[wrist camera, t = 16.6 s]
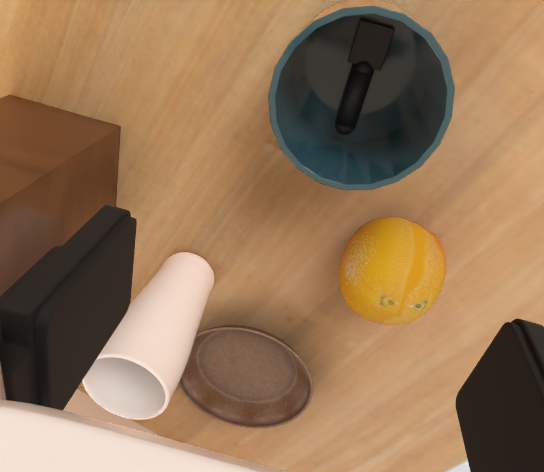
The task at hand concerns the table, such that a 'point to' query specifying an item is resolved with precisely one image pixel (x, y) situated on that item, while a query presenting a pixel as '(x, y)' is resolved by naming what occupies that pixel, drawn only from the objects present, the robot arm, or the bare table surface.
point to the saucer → (246, 377)
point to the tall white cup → (152, 341)
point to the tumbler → (377, 105)
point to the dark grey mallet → (362, 70)
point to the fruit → (392, 271)
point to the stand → (49, 179)
